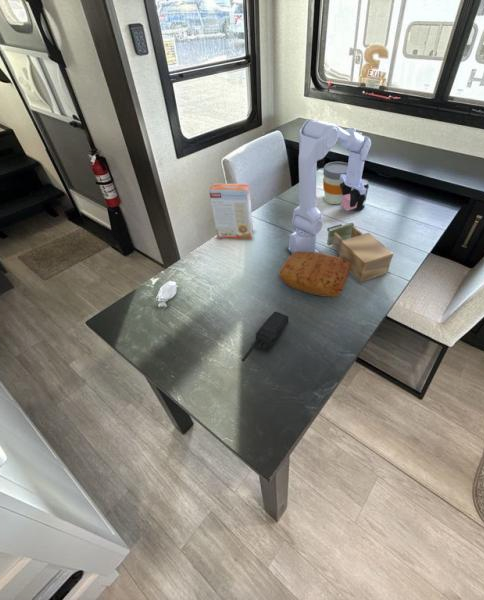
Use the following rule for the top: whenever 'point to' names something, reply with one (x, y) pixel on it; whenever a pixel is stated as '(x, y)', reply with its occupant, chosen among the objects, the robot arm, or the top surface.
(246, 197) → the cracker box
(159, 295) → the bird figurine
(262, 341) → the walkie-talkie
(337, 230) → the drawer
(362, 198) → the beverage can
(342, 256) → the cabinet
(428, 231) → the top surface
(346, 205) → the block
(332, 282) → the cuneiform tablet
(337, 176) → the reusable coffee cup
